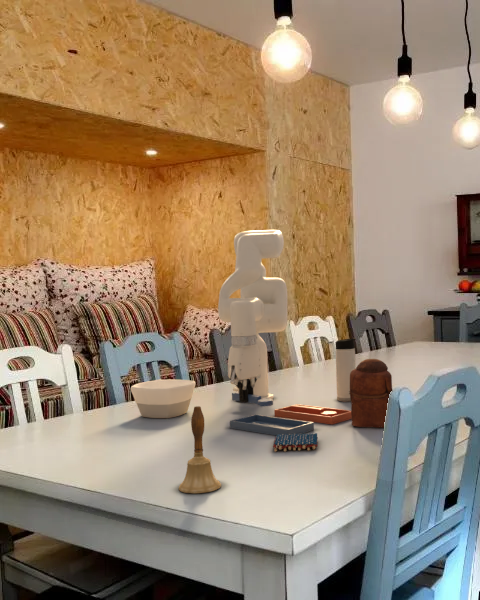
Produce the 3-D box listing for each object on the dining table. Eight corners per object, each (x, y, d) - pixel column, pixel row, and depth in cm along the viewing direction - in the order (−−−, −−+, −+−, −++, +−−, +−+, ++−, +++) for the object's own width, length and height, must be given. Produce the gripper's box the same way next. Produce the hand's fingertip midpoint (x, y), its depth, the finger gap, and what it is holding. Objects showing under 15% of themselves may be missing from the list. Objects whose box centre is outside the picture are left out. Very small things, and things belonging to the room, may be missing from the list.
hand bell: (180, 482, 146) (177, 404, 145) (221, 480, 146) (218, 402, 146) (176, 495, 138) (173, 412, 137) (220, 492, 138) (217, 409, 138)
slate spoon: (228, 401, 222) (228, 394, 221) (239, 398, 225) (238, 391, 225) (265, 407, 212) (265, 399, 211) (276, 403, 215) (276, 396, 215)
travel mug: (356, 401, 229) (354, 338, 228) (335, 401, 230) (333, 339, 230) (358, 398, 235) (356, 337, 234) (338, 398, 237) (336, 337, 236)
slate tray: (229, 428, 196) (229, 420, 196) (255, 421, 204) (255, 414, 204) (288, 437, 183) (288, 429, 183) (314, 429, 190) (313, 422, 190)
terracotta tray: (274, 416, 210) (274, 409, 210) (297, 410, 218) (296, 404, 218) (332, 424, 196) (331, 417, 196) (354, 417, 204) (354, 410, 204)
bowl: (205, 410, 223) (204, 380, 223) (172, 422, 207) (170, 389, 207) (158, 407, 231) (156, 378, 230) (122, 418, 215) (120, 387, 214)
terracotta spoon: (287, 414, 210) (287, 406, 210) (298, 411, 214) (297, 404, 214) (330, 419, 200) (329, 411, 200) (340, 416, 204) (339, 409, 204)
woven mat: (275, 441, 179) (274, 433, 179) (318, 440, 178) (317, 432, 178) (272, 452, 168) (271, 443, 168) (317, 450, 168) (317, 442, 168)
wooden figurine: (396, 423, 194) (394, 357, 194) (392, 429, 188) (390, 360, 187) (352, 422, 197) (350, 357, 197) (348, 428, 191) (346, 360, 191)
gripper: (253, 337, 227) (255, 395, 228) (216, 343, 215) (219, 404, 216) (270, 338, 222) (273, 397, 223) (234, 345, 210) (237, 407, 211)
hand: (246, 400), depth 220 cm, fingers closed on slate spoon, 1 cm apart
